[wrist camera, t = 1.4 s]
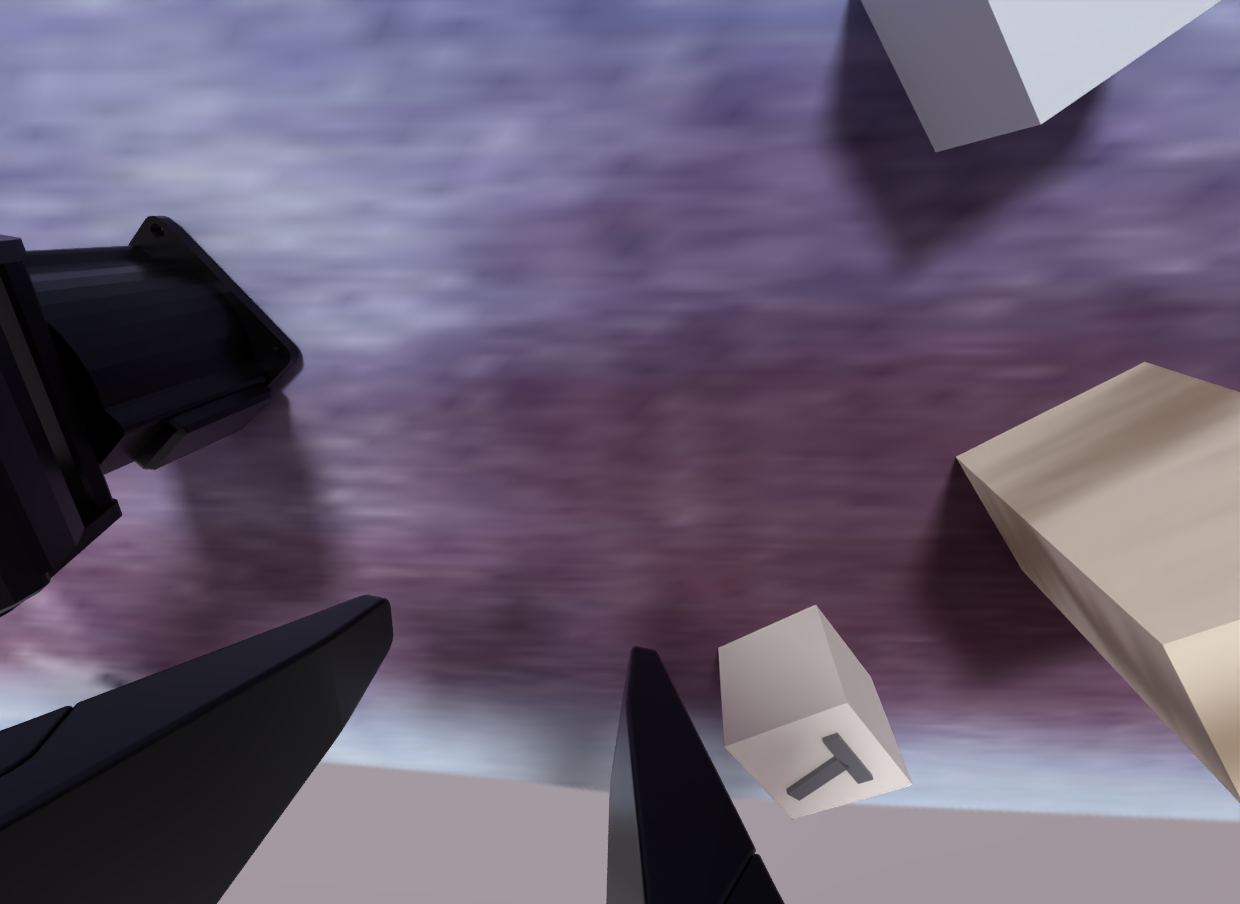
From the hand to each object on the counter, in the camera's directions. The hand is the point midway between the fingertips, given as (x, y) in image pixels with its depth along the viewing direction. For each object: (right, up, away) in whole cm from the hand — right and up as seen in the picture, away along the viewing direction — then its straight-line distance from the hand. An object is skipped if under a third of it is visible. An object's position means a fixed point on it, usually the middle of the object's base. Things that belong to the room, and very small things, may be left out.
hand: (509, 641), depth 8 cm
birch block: (+18, +2, +10) cm, 21 cm away
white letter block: (+10, -7, +15) cm, 19 cm away
